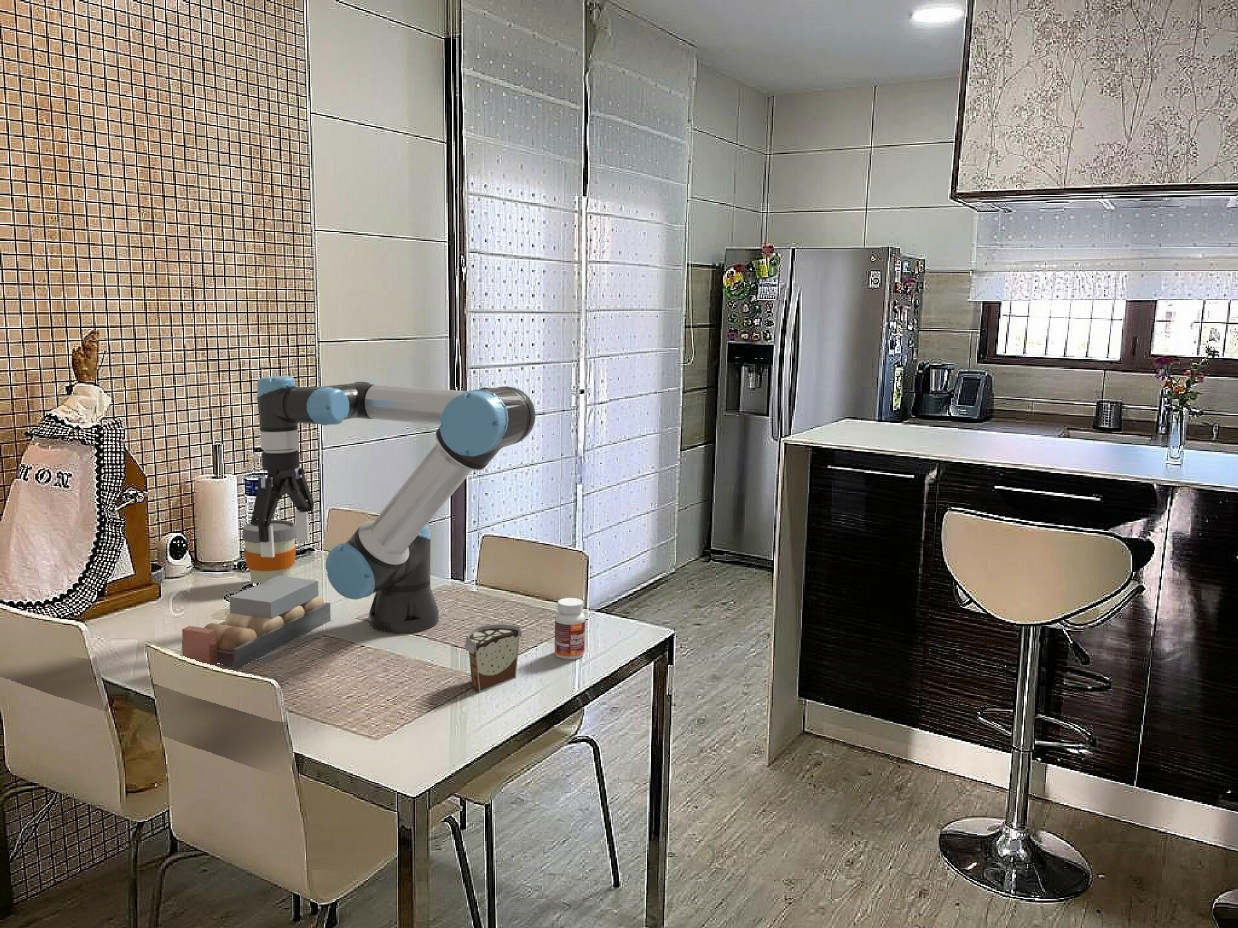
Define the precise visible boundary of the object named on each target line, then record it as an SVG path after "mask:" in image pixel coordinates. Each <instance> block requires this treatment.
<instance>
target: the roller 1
mask: <svg viewBox="0 0 1238 928" xmlns="http://www.w3.org/2000/svg"><path fill="white" fill-rule="evenodd" d="M203 628H207V629H214V630H216V646H217V649H219V650H225V651H232V652H233V649H234V648H236V647H238V646H240V645H242V644H244V643H246V642H248V641H250V640H252V639H254V638H256V637H257V635H256V633H255V631H254V630H252V629H248V628H241V627H235V626H228V625H221V624H220V623H213V622H210V623H208V624H206V625H205V626H204V627H203Z"/></svg>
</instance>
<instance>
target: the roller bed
mask: <svg viewBox="0 0 1238 928" xmlns="http://www.w3.org/2000/svg"><path fill="white" fill-rule="evenodd" d="M331 615H332V614H331V602H324V604H322V605H320V606H318V607H316V608H314V609H312V610H310V611H308V612H306V613H304V614H302V615H300V616H298V617H296V618H294V619H292V620H290V621H288V622H286V623H284V624H282V625H280V626H278V627H276V628H274V629H272V630H270V631H268V632H266V633H264V634H262V635H260V636H258V637H256V638H254V639H252V640H250V641H248V642H246V643H244V644H242V645H240V646H238V647H236V648H234V649H233V652H232V651H225V650H219V649H217V646H216V630H214V629H207V628H204V627H200V626H195V625H194V626H193V625H189V626H187V627H184V628H182V629H181V633H182V634H181V636H182V640H181V650H182V651H181V652H182V657H183V656H185V657H187V658H190V659H195V660H196V661H199V662H202V663H207V664H210V665H215V666H218V665H219V664H217V663H220V664H223V665H222V666H225V665H227V666H228V667H233V670H240V669H242V668H243V666H244V665H246V664H248V663H249V664H251V663H253V662H255V661H257V660H258V659H261V658H262V657H264V656H267V655H268V654H270V653H272V652H274V651H275V650H277V649H280V648H281V647H283V646H285V645H287V644H289V643H291V642H293V641H294V640H297V639H298V638H300V637H301V636H304V635H306V634H308V633H309V632H311V631H313V630H316V629H317V628H319V627H321V626H322V625H325V624H326V623H328V622H330V621H331ZM219 624H221V625H224V624H225V620H224V621H222V622H220V623H219ZM256 659H257V660H256ZM252 661H253V662H252ZM249 664H248V665H249ZM227 666H226V667H227ZM246 666H247V665H246ZM218 667H219V666H218ZM241 667H242V668H241ZM244 667H245V666H244ZM235 668H236V669H235Z"/></svg>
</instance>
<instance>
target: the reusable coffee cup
mask: <svg viewBox="0 0 1238 928" xmlns="http://www.w3.org/2000/svg"><path fill="white" fill-rule="evenodd" d="M270 526H273V536H274V552H275V557H261V550H260V540H259V528H258V526H253V525H251V522H249V523H247V524H245V525H243V527H242V541H243V542H244V547H245V548H244V551H243V552H244V557H245V558H244V559H245V563H246V567H247V569H248V570H249V574H250V580H251V584H252V583H263V582H265V581H268V580H270V579H272V578H275V577H277V576H285V577H293V576H292V575H293V566H294V565H295V561H296V552H297V551H296V550H297V546H296V545H295V544H296V538H297V536H296V522H293V521H289V520H283V519H280V520H279V519H272V520H271V523H270Z"/></svg>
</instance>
